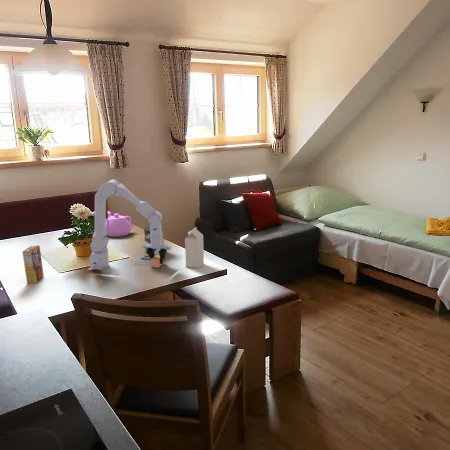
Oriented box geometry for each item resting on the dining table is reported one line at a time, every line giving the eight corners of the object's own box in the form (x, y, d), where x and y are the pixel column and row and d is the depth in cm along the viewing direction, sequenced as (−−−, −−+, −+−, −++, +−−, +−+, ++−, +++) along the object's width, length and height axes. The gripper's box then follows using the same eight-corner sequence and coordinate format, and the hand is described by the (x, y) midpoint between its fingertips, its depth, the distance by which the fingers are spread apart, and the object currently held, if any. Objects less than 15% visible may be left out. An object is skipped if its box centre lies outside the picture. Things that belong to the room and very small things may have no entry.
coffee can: (159, 257, 224) (158, 231, 221) (141, 255, 227) (140, 230, 224) (167, 251, 234) (166, 227, 230) (150, 250, 237) (149, 225, 233)
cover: (158, 267, 204) (158, 259, 203) (150, 266, 205) (150, 259, 204) (164, 263, 210) (163, 255, 210) (156, 262, 211) (156, 254, 211)
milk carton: (203, 264, 213) (203, 227, 208) (199, 268, 206) (198, 230, 202) (190, 262, 214) (189, 226, 210) (185, 267, 208) (184, 230, 203)
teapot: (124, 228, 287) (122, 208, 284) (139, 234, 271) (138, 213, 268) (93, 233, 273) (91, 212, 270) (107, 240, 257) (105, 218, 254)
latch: (158, 262, 213) (158, 252, 212) (151, 261, 214) (151, 251, 213) (163, 258, 218) (163, 248, 217) (156, 257, 219) (156, 248, 218)
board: (149, 268, 207) (149, 265, 206) (132, 266, 209) (132, 263, 209) (162, 258, 221) (161, 256, 221) (145, 257, 223) (145, 254, 223)
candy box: (34, 276, 196) (31, 245, 192) (44, 276, 196) (40, 245, 192) (26, 283, 187) (21, 250, 184) (35, 283, 187) (31, 250, 184)
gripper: (173, 235, 206) (174, 261, 209) (146, 233, 210) (147, 259, 213) (167, 239, 200) (168, 266, 203) (139, 237, 203) (141, 263, 206)
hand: (157, 263), depth 207 cm, fingers closed on cover, 4 cm apart
